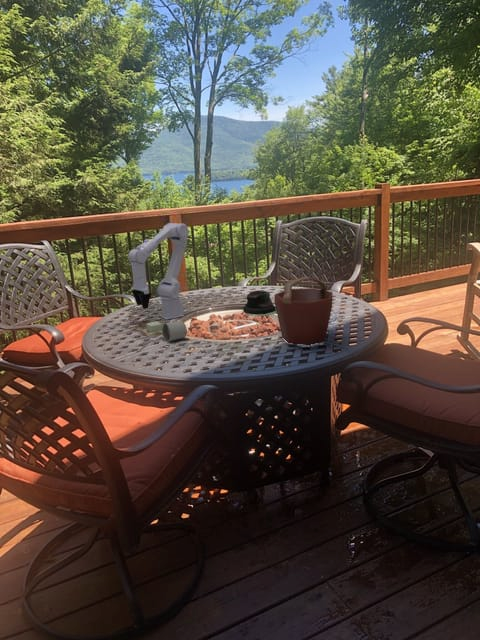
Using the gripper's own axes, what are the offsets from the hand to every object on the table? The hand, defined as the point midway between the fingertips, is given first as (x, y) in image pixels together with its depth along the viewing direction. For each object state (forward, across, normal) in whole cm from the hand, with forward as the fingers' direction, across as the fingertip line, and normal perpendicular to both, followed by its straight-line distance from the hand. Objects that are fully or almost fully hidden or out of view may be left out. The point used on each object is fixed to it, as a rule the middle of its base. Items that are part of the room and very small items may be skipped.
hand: (142, 306), depth 216 cm
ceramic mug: (+9, +26, +3) cm, 27 cm away
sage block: (+9, +13, 0) cm, 15 cm away
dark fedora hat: (+9, +12, +54) cm, 57 cm away
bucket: (+9, +59, +44) cm, 74 cm away
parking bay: (+9, +11, 0) cm, 14 cm away
